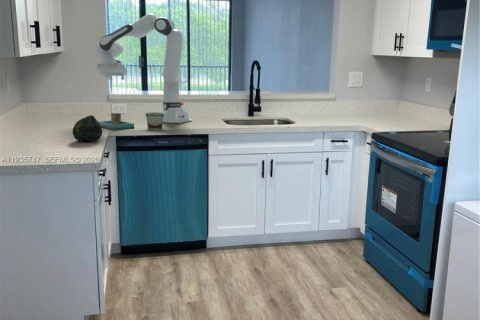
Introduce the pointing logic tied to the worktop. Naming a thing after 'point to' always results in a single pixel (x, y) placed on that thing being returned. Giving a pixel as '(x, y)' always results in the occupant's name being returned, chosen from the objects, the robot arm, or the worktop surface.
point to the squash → (87, 129)
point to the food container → (154, 120)
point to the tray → (116, 127)
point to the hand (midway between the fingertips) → (117, 79)
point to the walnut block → (116, 118)
